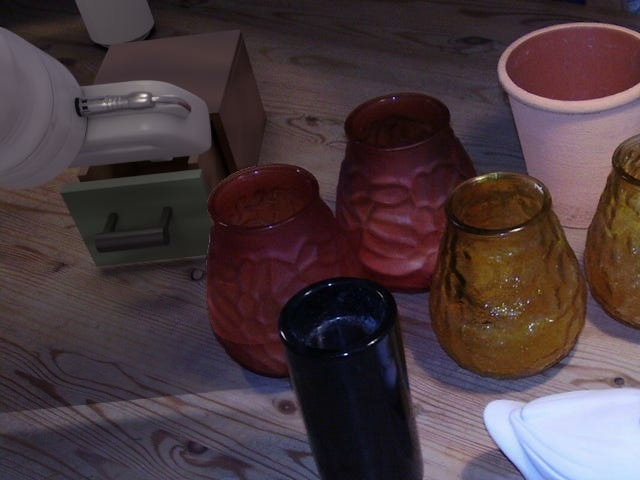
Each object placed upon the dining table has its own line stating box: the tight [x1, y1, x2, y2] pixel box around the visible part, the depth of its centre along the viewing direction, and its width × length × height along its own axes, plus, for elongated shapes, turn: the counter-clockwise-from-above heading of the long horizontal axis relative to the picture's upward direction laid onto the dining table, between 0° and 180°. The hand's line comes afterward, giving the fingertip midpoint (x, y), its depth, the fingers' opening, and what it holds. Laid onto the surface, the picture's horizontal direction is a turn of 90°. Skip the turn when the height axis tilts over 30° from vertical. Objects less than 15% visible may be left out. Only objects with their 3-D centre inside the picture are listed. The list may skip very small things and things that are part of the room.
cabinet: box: [92, 29, 267, 175], centre depth 93 cm, size 15×13×10 cm
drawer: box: [59, 121, 230, 268], centre depth 85 cm, size 18×11×8 cm, turn 2°
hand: (100, 156), depth 74 cm, fingers open, 8 cm apart
